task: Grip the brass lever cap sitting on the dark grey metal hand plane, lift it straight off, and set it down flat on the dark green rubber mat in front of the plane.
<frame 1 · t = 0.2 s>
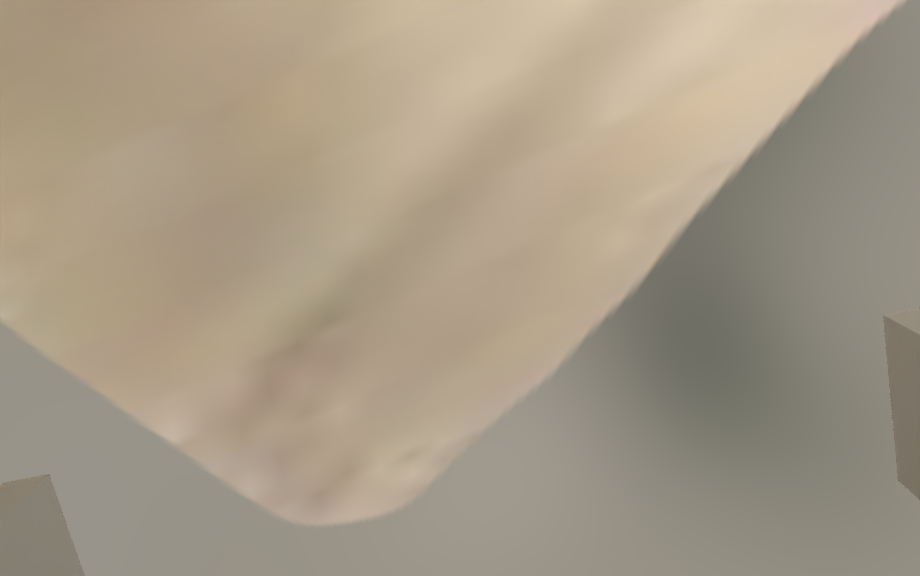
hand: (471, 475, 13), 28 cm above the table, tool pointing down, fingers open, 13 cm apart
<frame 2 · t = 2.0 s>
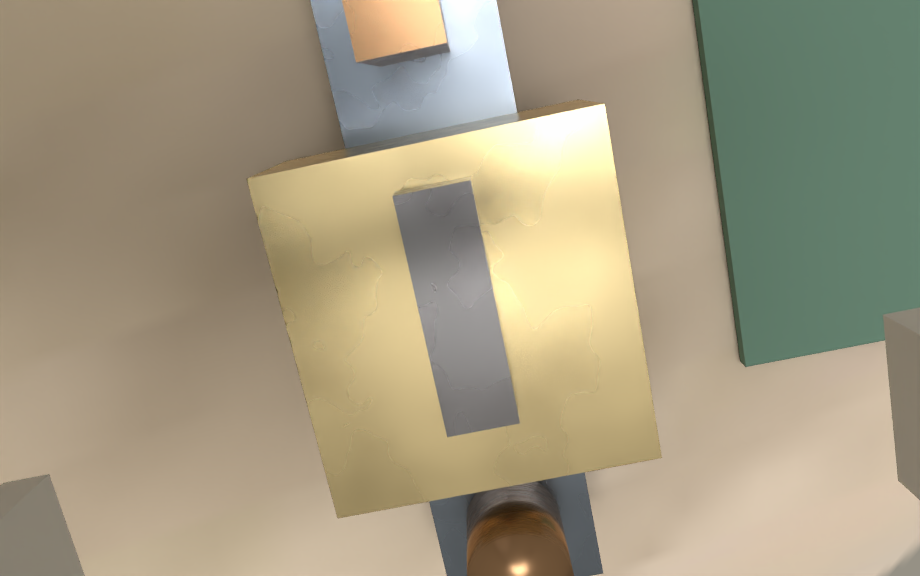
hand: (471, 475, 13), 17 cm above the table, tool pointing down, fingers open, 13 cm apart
felt pad: (862, 140, 28), on the table
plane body: (462, 251, 29), on the table
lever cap: (462, 281, 25), point 4 cm above the table, touching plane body
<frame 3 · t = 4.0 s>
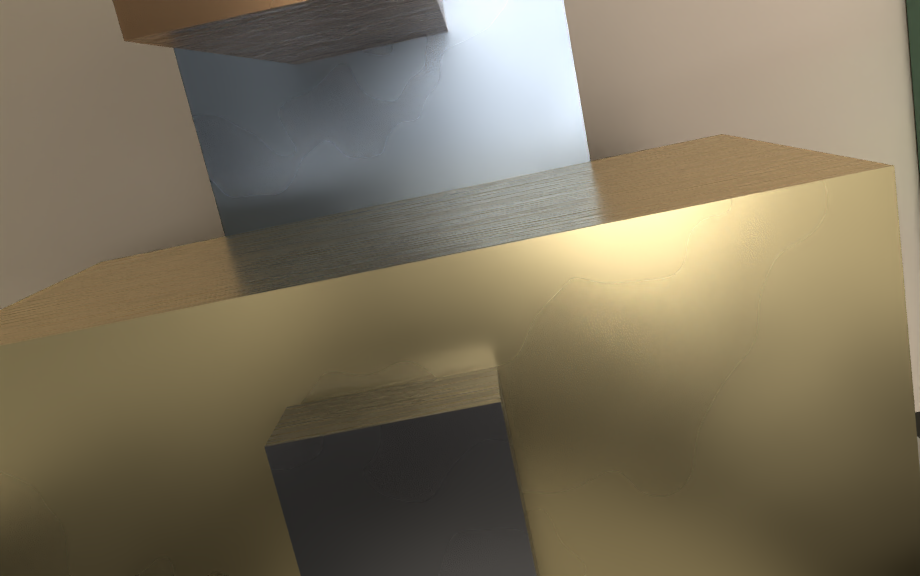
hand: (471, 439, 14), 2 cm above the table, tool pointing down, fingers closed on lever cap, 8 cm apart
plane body: (471, 391, 16), on the table
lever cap: (472, 500, 12), point 5 cm above the table, touching gripper, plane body
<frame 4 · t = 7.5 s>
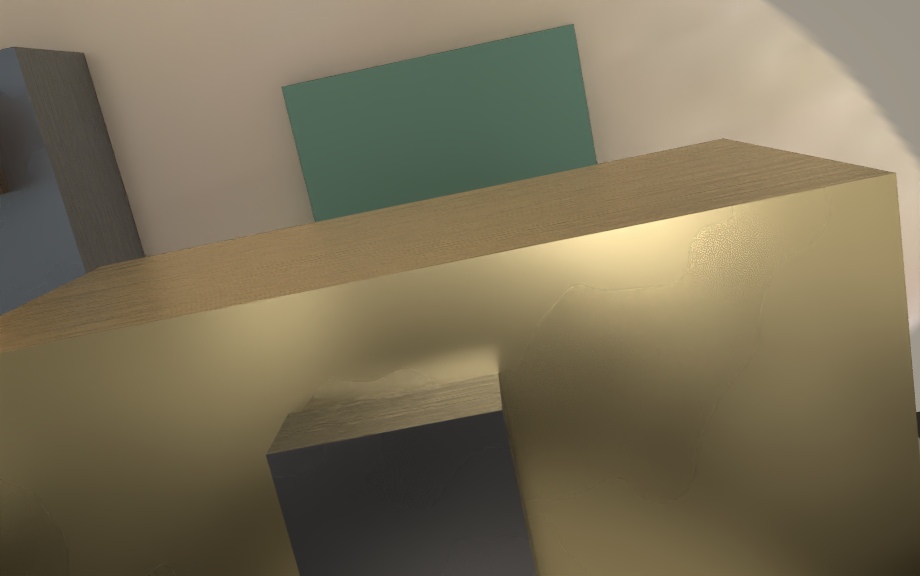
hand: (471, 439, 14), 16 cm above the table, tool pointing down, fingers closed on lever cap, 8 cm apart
felt pad: (467, 253, 30), on the table
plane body: (105, 353, 31), on the table
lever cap: (472, 504, 12), point 18 cm above the table, touching gripper
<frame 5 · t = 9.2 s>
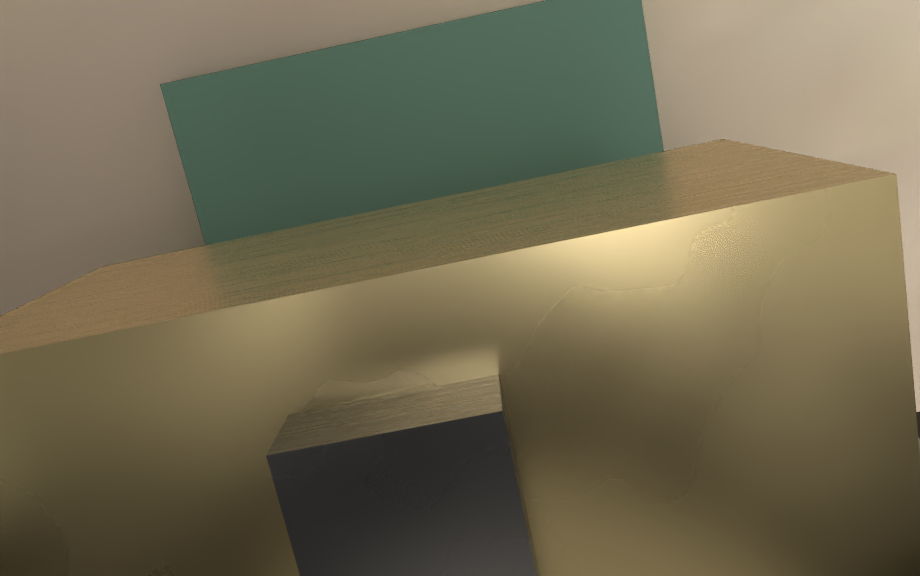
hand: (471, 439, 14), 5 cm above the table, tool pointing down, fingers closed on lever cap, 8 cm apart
felt pad: (464, 345, 19), on the table
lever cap: (473, 505, 12), point 7 cm above the table, touching gripper
when the fingers open (2 cm above the table, at t = 10.8 s): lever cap drops 3 cm, resting on felt pad.
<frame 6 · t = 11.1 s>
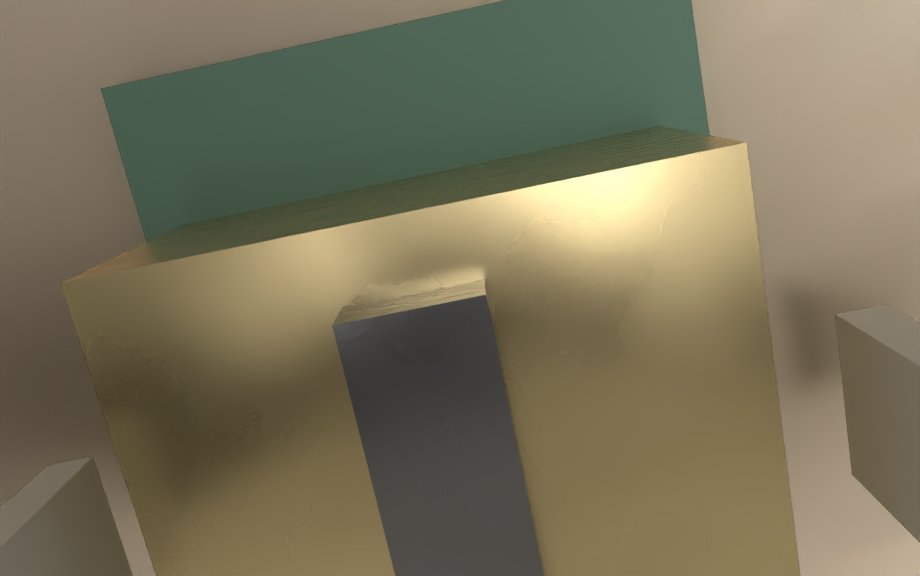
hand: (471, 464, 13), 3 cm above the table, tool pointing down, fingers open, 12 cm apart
felt pad: (471, 400, 16), on the table
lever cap: (469, 414, 15), point 1 cm above the table, touching felt pad
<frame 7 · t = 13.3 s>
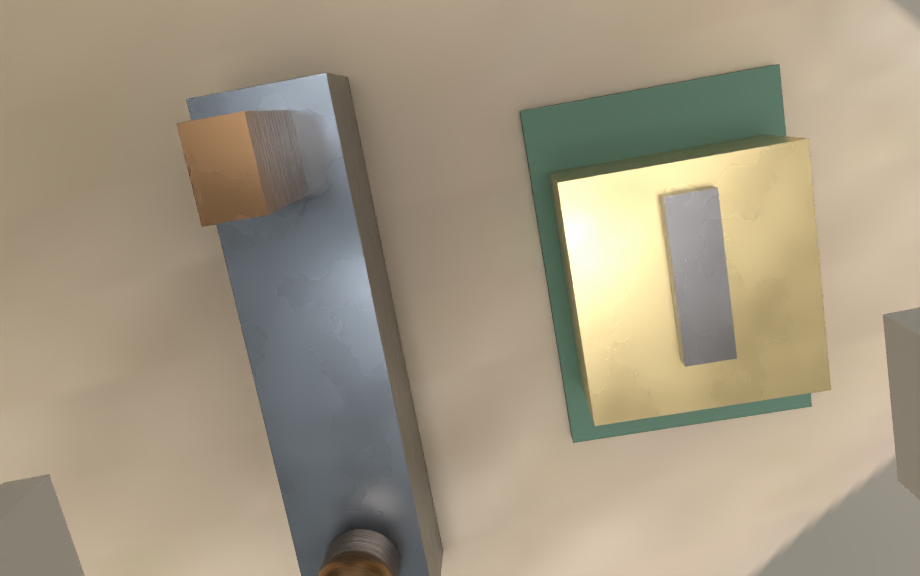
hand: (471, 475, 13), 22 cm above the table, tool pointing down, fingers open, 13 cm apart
felt pad: (667, 260, 34), on the table
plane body: (340, 338, 35), on the table
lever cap: (669, 264, 33), point 1 cm above the table, touching felt pad
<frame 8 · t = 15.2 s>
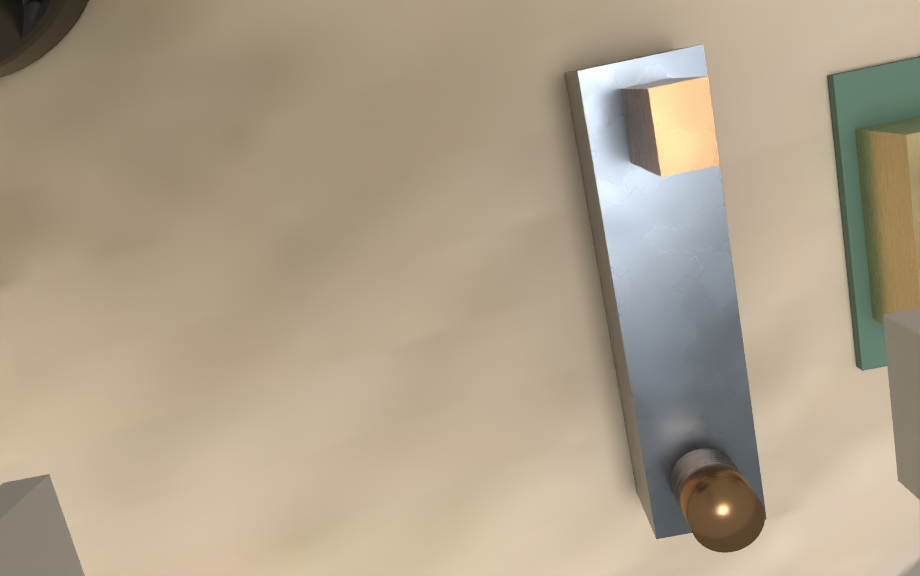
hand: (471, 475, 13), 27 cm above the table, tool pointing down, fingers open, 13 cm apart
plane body: (654, 285, 40), on the table
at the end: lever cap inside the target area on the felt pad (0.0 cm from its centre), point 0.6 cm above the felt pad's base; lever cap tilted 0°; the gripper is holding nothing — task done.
